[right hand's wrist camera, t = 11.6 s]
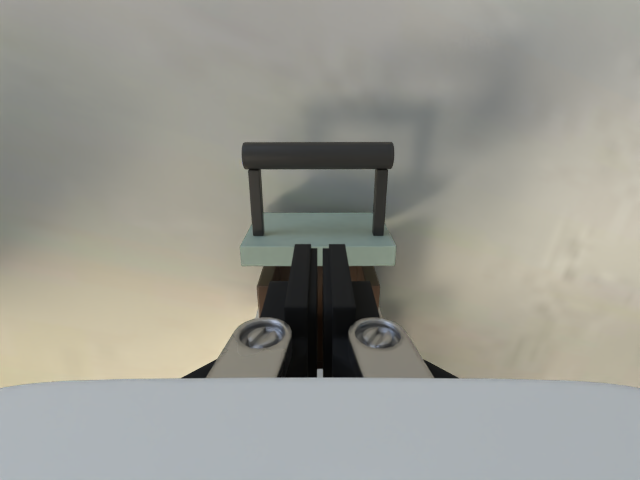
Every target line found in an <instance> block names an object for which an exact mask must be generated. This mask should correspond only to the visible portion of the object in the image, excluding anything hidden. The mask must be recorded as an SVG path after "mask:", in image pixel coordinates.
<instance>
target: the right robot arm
mask: <svg viewBox="0 0 640 480" xmlns="http://www.w3.org/2000/svg"><path fill="white" fill-rule="evenodd" d="M317 337H318V275H317V248H311V244H295V246H294V252H293V258H292V264H291V270H290V276H289V281H270V283H269V286H268V290H267V293H266V297H265V301H264V304H263V308H262V312H261V315H260V318H256V319H252V320H249V321H247V322H245V323H243V324H241V325H240V326H239V327H238V328H237V329H236V330H235V331H234V333H233V334H232V336H231V337H230V339H229V341H228V342H227V344H226V346H225V347H224V349H223V351H222V352H221V354H220V355H219V357H218V359H216V360H214V361H212V362H211V363H209V364H207V365H205V366H203V367H201V368H199V369H197V370H195V371H194V372H192V373H190V374H188V375H186V376H184V377H182V378H180V379H113V380H82V381H57V382H44V383H32V384H24V385H17V386H10V387H4V388H0V480H640V388H635V387H630V386H623V385H616V384H607V383H596V382H582V381H560V380H524V379H460V378H458V377H456V376H454V375H452V374H450V373H448V372H446V371H445V370H443V369H441V368H439V367H437V366H435V365H433V364H431V363H429V362H428V361H426V360H424V359H422V357H421V355H420V354H419V352H418V351H417V349H416V347H415V346H414V344H413V342H412V341H411V339H410V337H409V336H408V334H407V333H406V331H405V330H404V329H403V328H402V327H401V326H400V325H399V324H397V323H395V322H393V321H391V320H388V319H384V318H380V315H379V312H378V308H377V304H376V301H375V297H374V293H373V290H372V286H371V283H370V281H351V276H350V270H349V264H348V258H347V252H346V246H345V244H329V248H323V275H322V337H323V378H317Z"/></svg>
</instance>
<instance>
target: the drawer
mask: <svg viewBox="0 0 640 480" xmlns="http://www.w3.org/2000/svg"><path fill="white" fill-rule="evenodd" d="M242 162H243V166H244V168H245V169H249V170H248V174H249V188H250V201H251V215H252V225H251V227H250V229H249V231H248V232H247V234H246V236H245V238H244V240H243V242H242V244H241V246H240V254H241V265H242V266H263V269H262V272H261V275H260V279H259V282H258V285H257V296H258V310H259V318H260V315H261V312H262V308H263V304H264V301H265V297H266V293H267V290H268V286H269V283H270V281H289V276H290V270H291V264H292V258H293V252H294V246H295V244H311V248H317V275H318V337H317V369H323V337H322V275H323V248H329V244H345V246H346V252H347V258H348V264H349V270H350V276H351V281H370V283H371V286H372V290H373V293H374V297H375V301H376V304H377V308H378V310H379V295H380V284H379V281H378V278H377V275H376V272H375V269H374V266H395V260H396V244H395V243H394V241H393V239H392V237H391V235H390V233H389V231H388V229H387V227H386V225H385V223H384V222H385V207H386V192H387V177H388V170H387V169H391V168H392V166H393V162H394V146H393V143H392V142H245V143H243V146H242ZM261 169H375V186H374V205H373V213H263V198H262V182H261Z"/></svg>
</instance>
